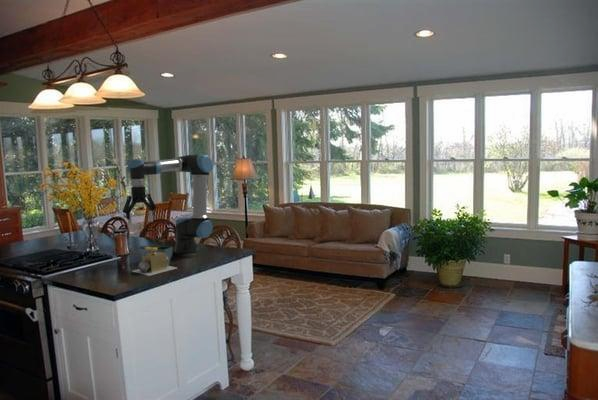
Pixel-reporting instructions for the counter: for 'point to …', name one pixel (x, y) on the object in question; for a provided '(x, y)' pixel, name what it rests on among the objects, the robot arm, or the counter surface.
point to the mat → (156, 271)
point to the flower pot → (166, 250)
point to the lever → (148, 248)
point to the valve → (154, 262)
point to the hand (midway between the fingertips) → (140, 223)
